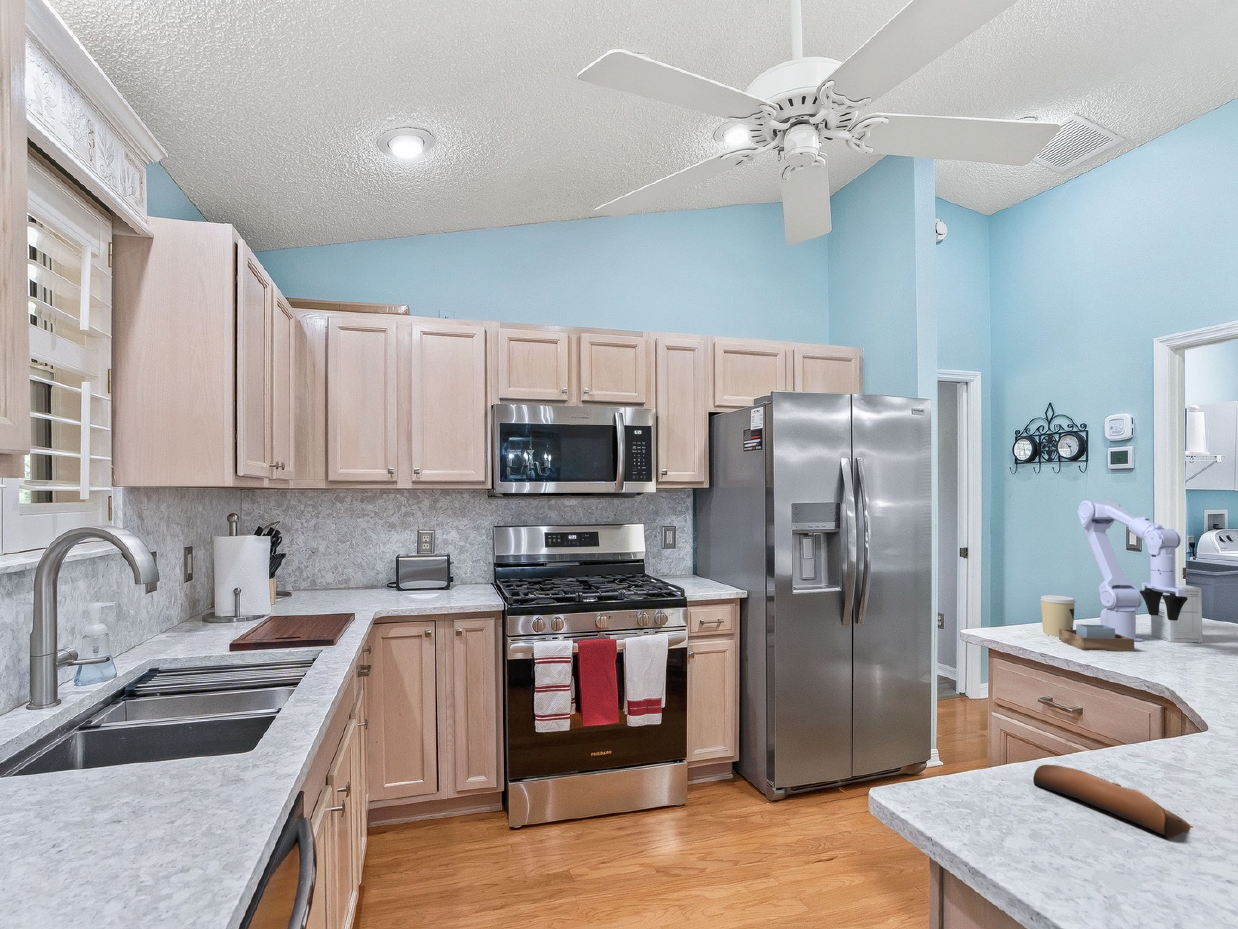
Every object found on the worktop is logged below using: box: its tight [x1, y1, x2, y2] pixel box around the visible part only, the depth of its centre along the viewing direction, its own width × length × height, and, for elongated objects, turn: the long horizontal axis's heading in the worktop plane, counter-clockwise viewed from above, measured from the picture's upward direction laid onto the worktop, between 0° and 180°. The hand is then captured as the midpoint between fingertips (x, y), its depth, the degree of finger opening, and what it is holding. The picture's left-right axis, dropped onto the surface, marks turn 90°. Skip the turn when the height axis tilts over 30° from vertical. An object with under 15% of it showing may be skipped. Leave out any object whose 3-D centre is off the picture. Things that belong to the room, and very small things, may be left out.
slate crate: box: [1075, 623, 1115, 638], centre depth 202 cm, size 5×8×5 cm, turn 87°
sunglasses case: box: [1032, 764, 1194, 840], centre depth 99 cm, size 18×7×7 cm, turn 26°
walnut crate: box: [1058, 629, 1135, 652], centre depth 202 cm, size 12×14×4 cm
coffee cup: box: [1039, 594, 1076, 638], centre depth 216 cm, size 9×9×12 cm
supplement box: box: [1150, 583, 1203, 644], centre depth 213 cm, size 10×9×17 cm
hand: (1163, 617), depth 198 cm, fingers open, 7 cm apart
